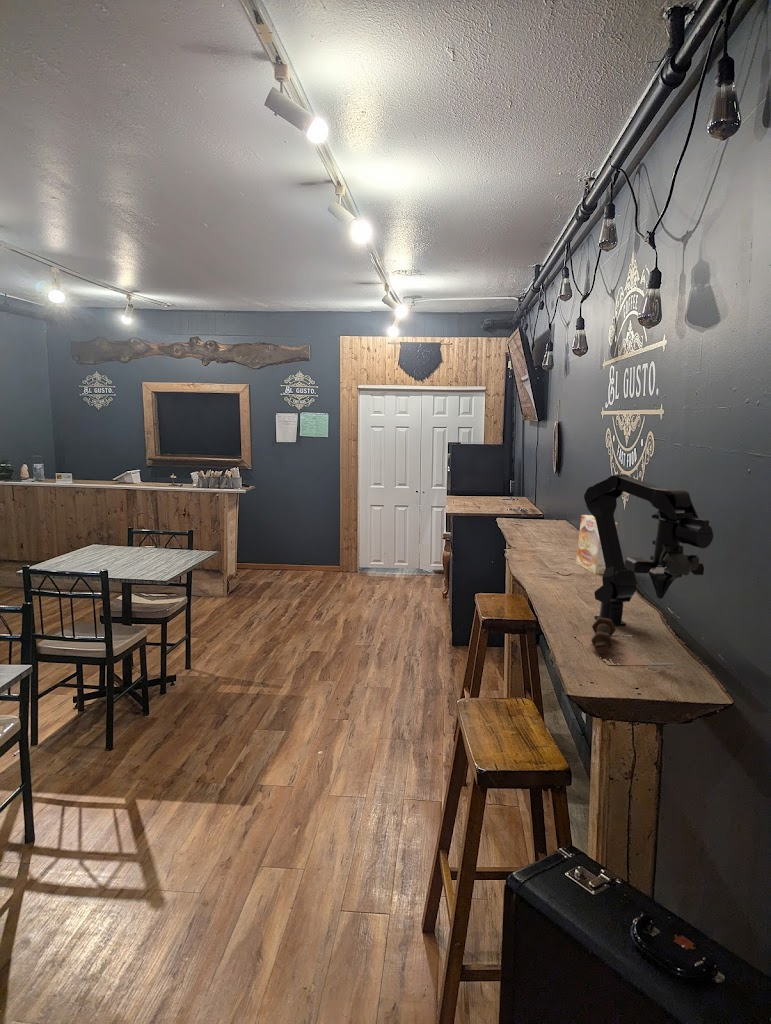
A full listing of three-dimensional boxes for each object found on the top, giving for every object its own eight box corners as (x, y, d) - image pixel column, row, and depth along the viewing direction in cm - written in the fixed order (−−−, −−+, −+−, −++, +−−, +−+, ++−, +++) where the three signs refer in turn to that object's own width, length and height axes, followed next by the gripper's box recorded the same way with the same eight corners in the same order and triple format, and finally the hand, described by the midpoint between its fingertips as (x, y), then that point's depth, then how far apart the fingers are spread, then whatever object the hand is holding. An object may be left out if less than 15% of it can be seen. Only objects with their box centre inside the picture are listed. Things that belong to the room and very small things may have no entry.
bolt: (596, 662, 151) (599, 639, 164) (616, 656, 149) (618, 633, 162) (585, 640, 151) (590, 619, 164) (606, 633, 149) (608, 613, 162)
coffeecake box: (575, 563, 243) (580, 514, 240) (592, 564, 245) (597, 515, 241) (594, 574, 229) (600, 522, 225) (612, 574, 230) (618, 522, 227)
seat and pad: (571, 635, 163) (571, 635, 163) (631, 635, 166) (631, 635, 166) (608, 665, 145) (608, 665, 145) (674, 664, 148) (674, 664, 148)
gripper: (650, 545, 149) (641, 607, 151) (722, 547, 151) (713, 609, 154) (627, 535, 159) (619, 593, 162) (695, 537, 162) (686, 595, 164)
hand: (659, 598), depth 160 cm, fingers closed
